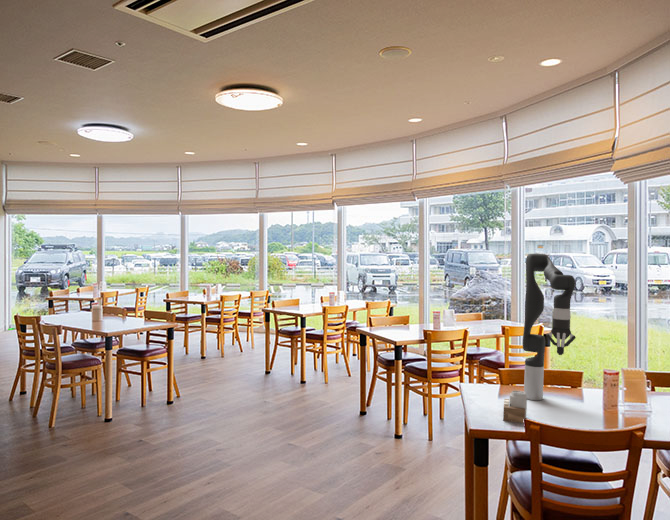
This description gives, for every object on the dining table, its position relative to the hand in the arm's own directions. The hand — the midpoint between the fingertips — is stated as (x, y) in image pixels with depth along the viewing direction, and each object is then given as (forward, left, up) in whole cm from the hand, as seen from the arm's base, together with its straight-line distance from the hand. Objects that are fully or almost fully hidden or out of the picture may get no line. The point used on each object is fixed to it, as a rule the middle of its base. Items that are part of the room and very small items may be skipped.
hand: (560, 354), depth 234 cm
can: (+11, -18, -29) cm, 36 cm away
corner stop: (+10, -19, -29) cm, 36 cm away
